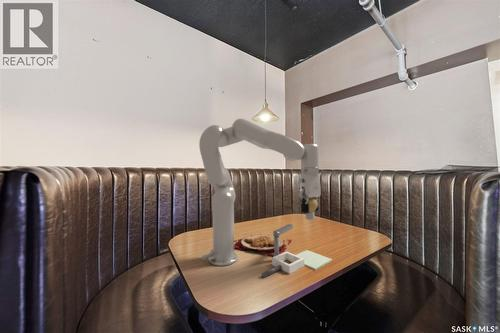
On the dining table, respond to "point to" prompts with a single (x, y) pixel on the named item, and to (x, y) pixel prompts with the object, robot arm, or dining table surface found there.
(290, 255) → the white handled box
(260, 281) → the dining table surface
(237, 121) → the robot arm
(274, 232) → the silver metal bar
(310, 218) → the light bulb
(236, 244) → the plate with food
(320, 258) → the mat
